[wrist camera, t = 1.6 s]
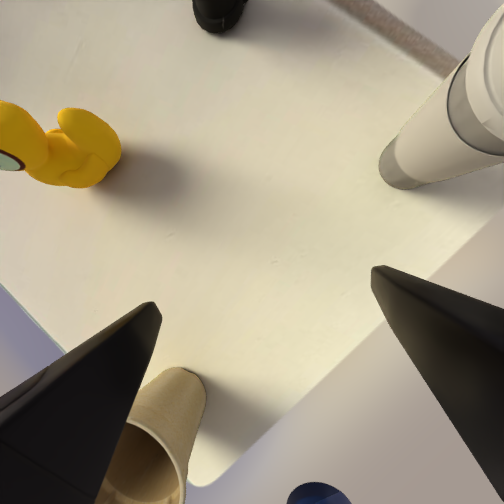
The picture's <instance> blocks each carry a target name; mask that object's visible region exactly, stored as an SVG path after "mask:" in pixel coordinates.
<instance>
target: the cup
mask: <svg viewBox="0 0 504 504" xmlns="http://www.w3.org/2000/svg"><path fill="white" fill-rule="evenodd" d="M503 162H504V4H503V5H502V6H501V7H500V8H499V9H498V10H497V11H496V12H495V13H494V14H493V15H492V16H491V18H490V19H489V20H488V22H487V23H486V24H485V26H484V27H483V28H482V30H481V32H480V34H479V35H478V37H477V39H476V41H475V43H474V45H473V47H472V50H471V52H470V53H469V54H468V55H467V56H466V57H465V58H464V59H463V60H462V62H461V63H460V64H459V65H458V66H457V67H456V68H455V69H454V70H453V72H452V73H451V74H450V75H449V76H448V77H447V78H446V79H445V80H444V81H443V83H442V84H441V85H440V86H439V87H438V88H437V89H436V90H435V91H434V92H433V94H432V95H431V96H430V97H429V98H428V99H427V100H426V101H425V102H424V104H423V105H422V106H421V107H420V108H419V109H418V110H417V111H416V112H415V113H414V115H413V116H412V117H411V118H410V119H409V120H408V121H407V122H406V124H405V125H404V126H403V127H402V129H401V130H400V132H399V134H398V135H397V136H396V137H395V138H394V139H393V140H392V141H391V142H390V143H389V145H388V146H387V147H386V148H385V149H384V151H383V152H382V154H381V156H380V160H379V171H380V174H381V176H382V178H383V179H384V181H385V182H386V183H387V184H389V185H390V186H392V187H395V188H398V189H412V188H415V187H419V186H422V185H425V184H428V183H431V182H439V181H443V180H447V179H450V178H454V177H457V176H460V175H463V174H467V173H470V172H473V171H476V170H480V169H483V168H486V167H490V166H493V165H496V164H499V163H503Z"/></svg>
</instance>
